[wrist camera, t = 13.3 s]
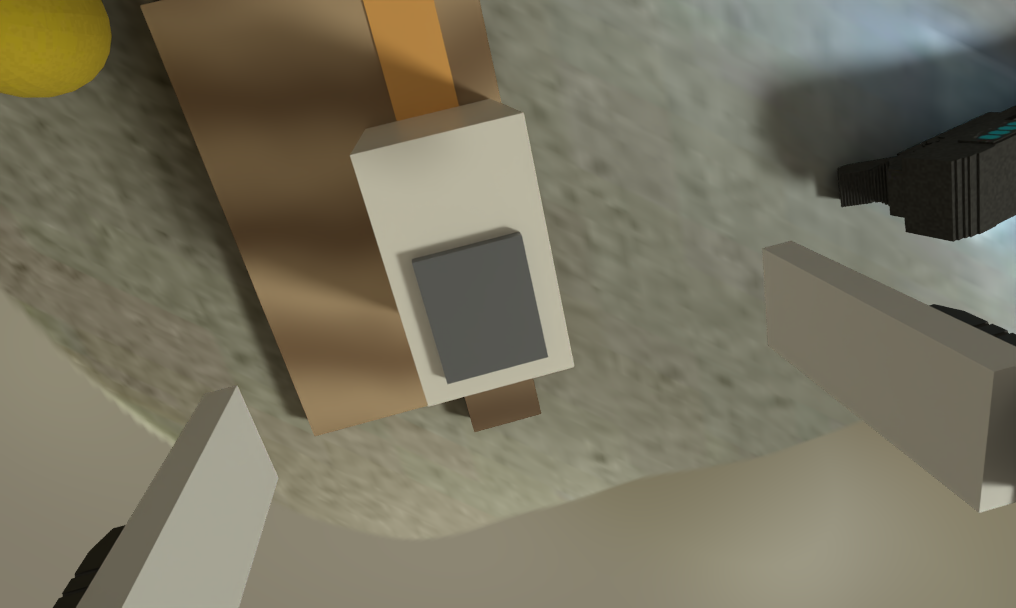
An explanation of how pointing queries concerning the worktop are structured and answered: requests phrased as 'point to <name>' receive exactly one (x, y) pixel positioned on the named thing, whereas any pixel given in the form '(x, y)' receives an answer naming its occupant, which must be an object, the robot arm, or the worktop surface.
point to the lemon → (51, 45)
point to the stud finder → (465, 247)
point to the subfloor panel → (324, 173)
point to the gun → (944, 179)
